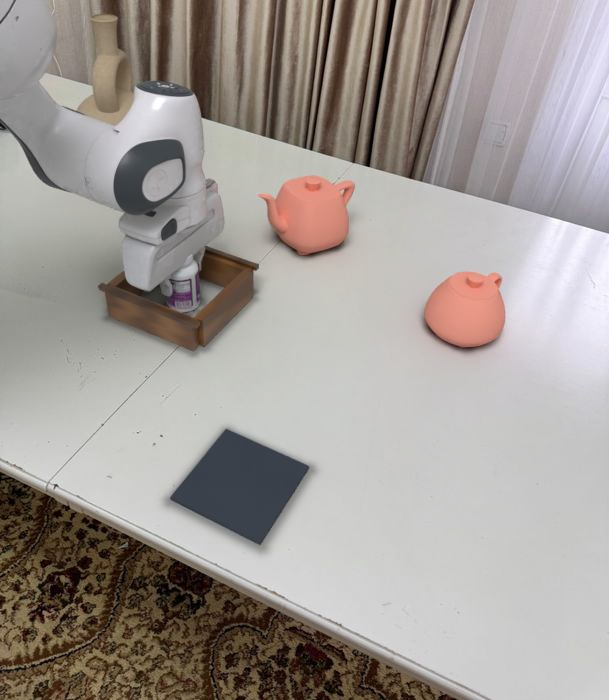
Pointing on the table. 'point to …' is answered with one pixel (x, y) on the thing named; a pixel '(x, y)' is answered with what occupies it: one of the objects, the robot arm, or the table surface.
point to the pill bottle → (185, 287)
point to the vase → (109, 75)
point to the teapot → (310, 213)
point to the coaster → (241, 485)
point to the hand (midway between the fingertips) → (181, 282)
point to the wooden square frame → (175, 324)
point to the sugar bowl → (467, 309)
